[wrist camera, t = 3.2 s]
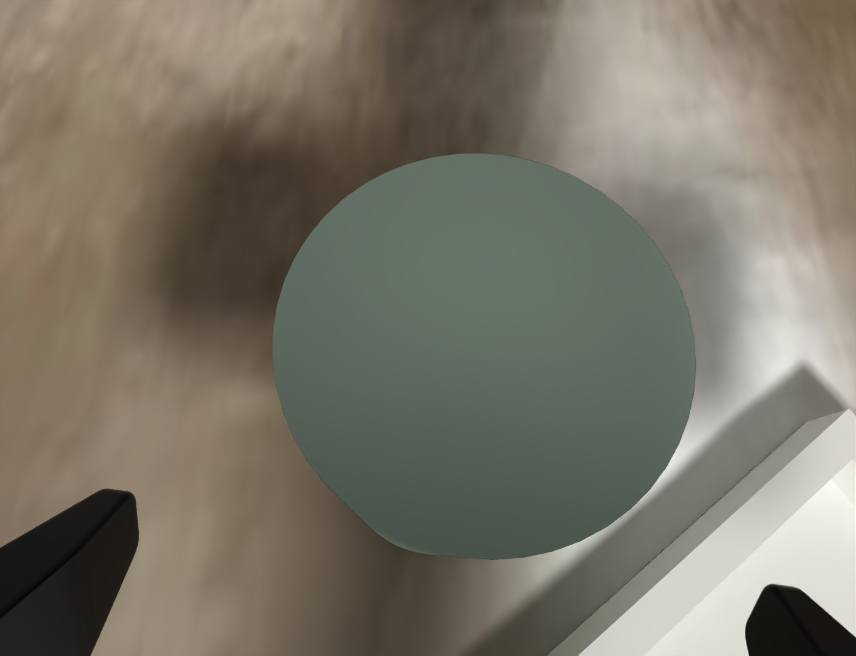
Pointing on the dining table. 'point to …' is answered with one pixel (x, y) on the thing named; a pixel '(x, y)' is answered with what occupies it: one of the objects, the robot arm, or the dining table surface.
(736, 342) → the dining table surface
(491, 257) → the grey-green post
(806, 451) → the tray
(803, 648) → the robot arm
